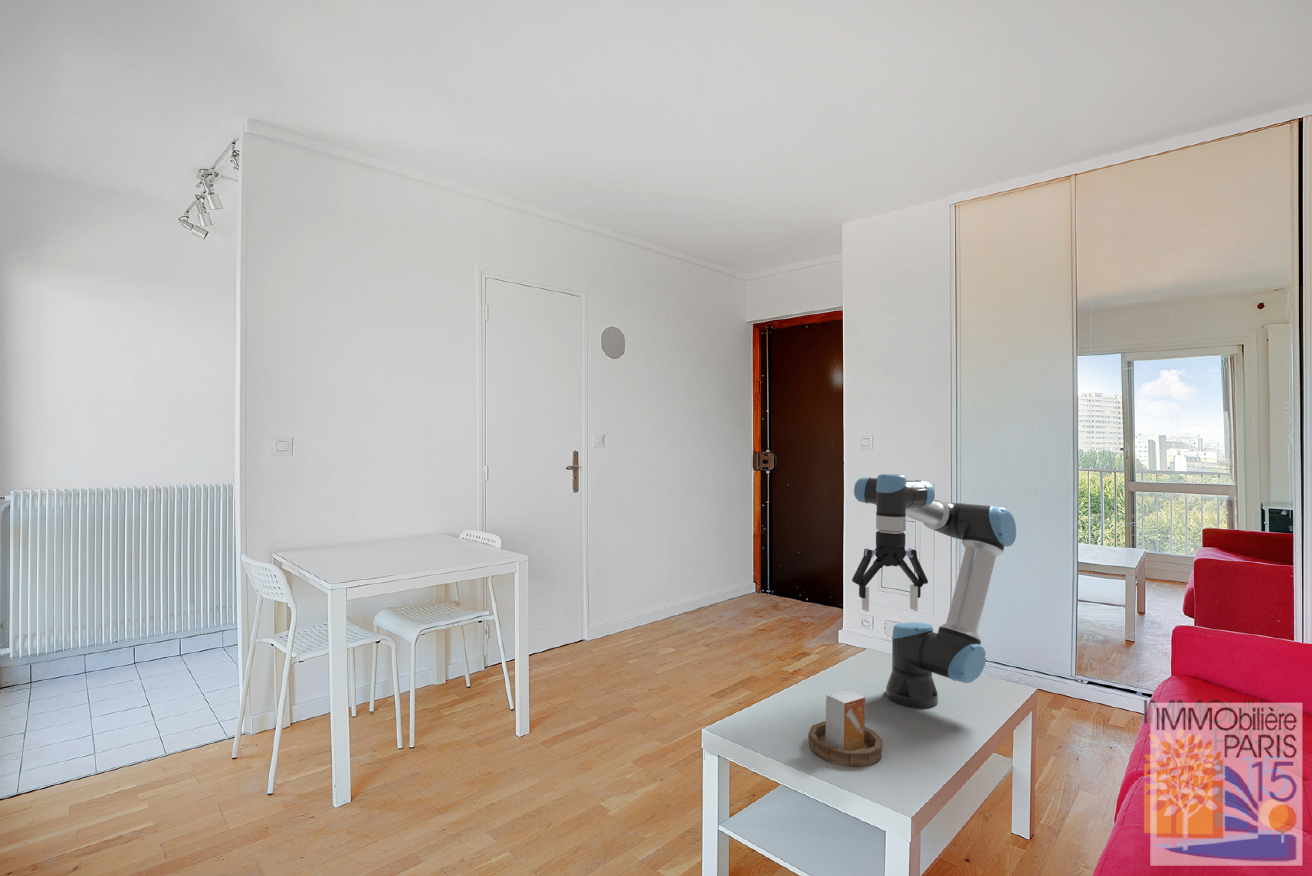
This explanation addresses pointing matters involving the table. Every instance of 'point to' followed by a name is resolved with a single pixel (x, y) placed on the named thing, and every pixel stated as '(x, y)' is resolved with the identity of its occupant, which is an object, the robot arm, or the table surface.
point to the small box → (845, 720)
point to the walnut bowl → (844, 757)
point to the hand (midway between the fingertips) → (889, 610)
